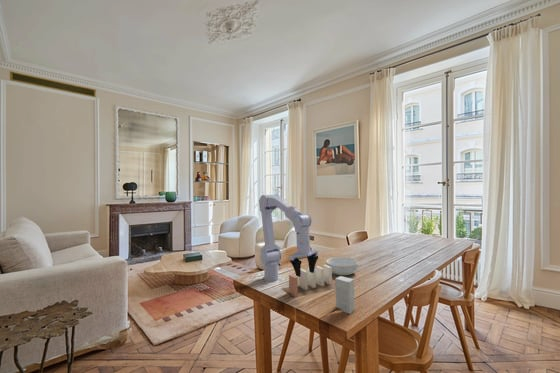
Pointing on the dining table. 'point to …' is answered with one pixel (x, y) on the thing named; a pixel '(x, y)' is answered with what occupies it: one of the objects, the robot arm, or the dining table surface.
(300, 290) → the board
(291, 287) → the terracotta domino
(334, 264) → the cereal bowl
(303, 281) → the domino
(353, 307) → the skincare box
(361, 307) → the dining table surface
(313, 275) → the domino
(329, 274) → the domino
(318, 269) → the domino
